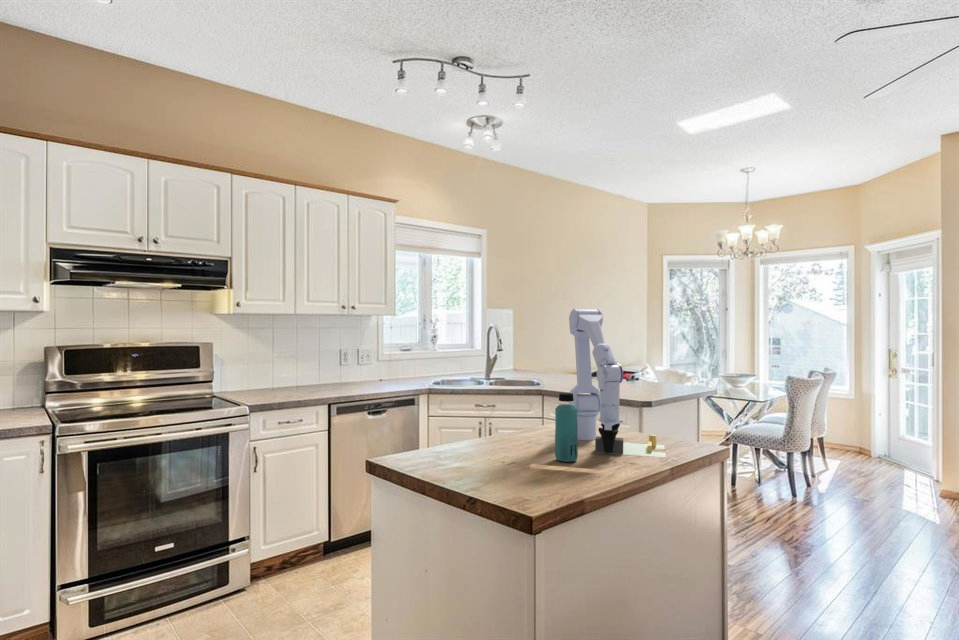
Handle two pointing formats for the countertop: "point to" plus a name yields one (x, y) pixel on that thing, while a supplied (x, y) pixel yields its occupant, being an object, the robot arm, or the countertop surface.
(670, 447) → the countertop surface
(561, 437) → the beverage bottle
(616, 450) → the tall gray prism
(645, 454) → the pale green u-shaped slab
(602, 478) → the countertop surface
